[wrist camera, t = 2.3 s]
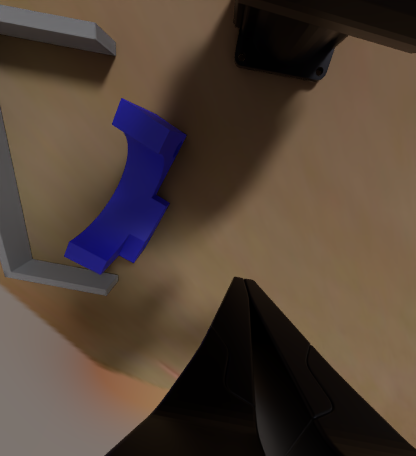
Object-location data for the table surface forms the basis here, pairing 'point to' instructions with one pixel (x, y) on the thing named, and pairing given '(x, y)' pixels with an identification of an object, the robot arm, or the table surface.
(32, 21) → the bracket
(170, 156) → the blue cradle mount
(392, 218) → the table surface
